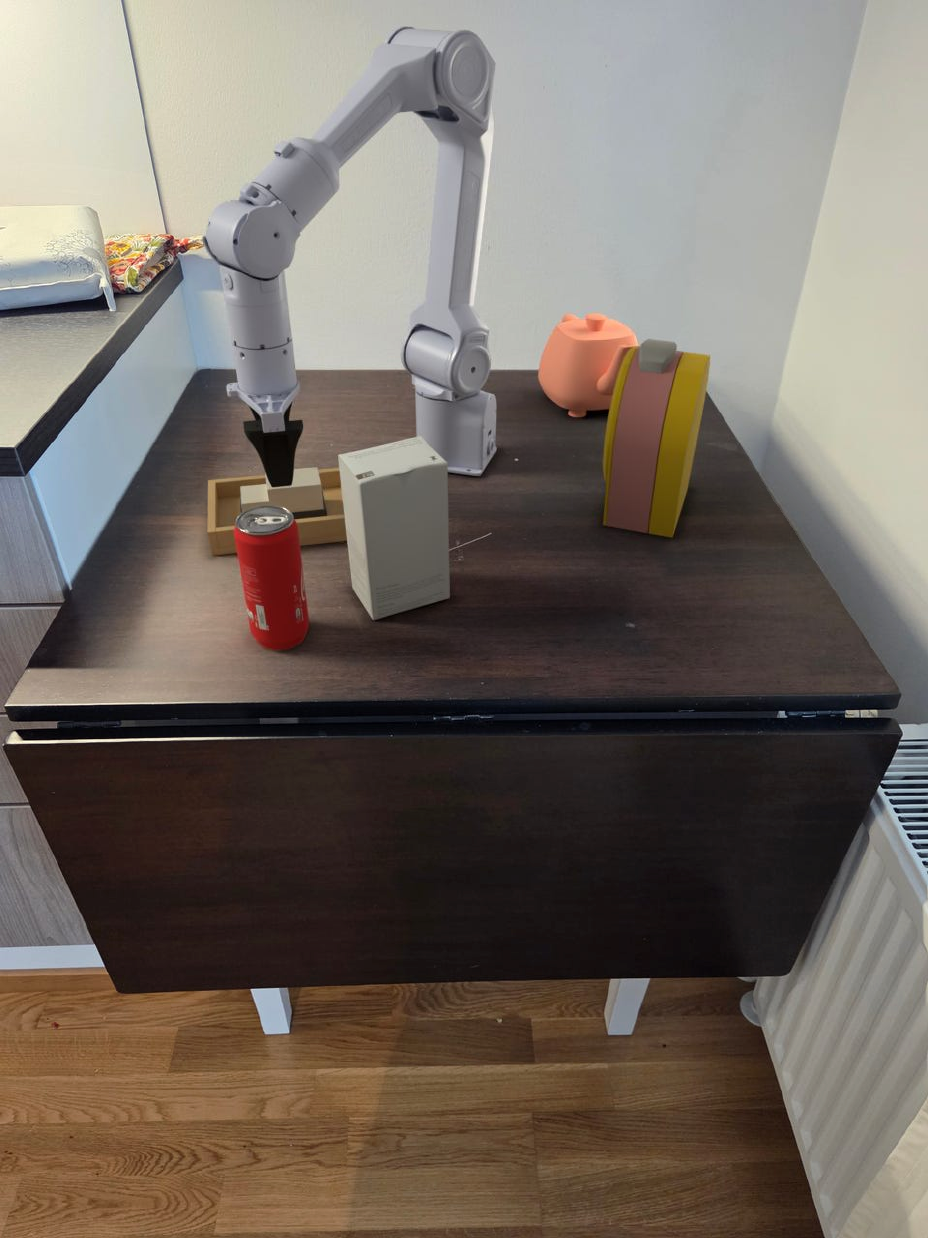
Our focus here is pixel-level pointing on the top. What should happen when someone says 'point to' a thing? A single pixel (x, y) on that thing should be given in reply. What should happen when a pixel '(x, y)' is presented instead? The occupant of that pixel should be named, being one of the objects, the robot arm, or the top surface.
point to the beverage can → (272, 576)
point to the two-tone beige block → (289, 495)
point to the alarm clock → (652, 436)
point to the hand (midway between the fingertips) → (279, 468)
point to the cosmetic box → (396, 525)
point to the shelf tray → (310, 530)
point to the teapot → (584, 362)
